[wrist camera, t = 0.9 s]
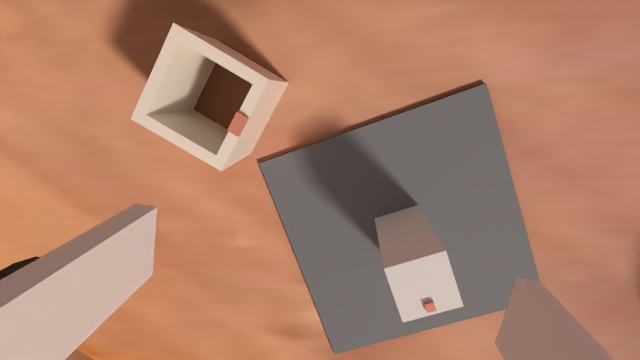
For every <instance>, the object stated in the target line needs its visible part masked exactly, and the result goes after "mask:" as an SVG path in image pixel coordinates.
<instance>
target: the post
mask: <svg viewBox="0 0 640 360" xmlns="http://www.w3.org/2000/svg"><path fill="white" fill-rule="evenodd" d="M259 165H260V168H261V170H262V173H263V175H264V178H265V180H266V183H267V185H268V188H269V190H270V193H271V195H272V198H273V201H274V203H275V206H276V208H277V211H278V213H279V216H280V218H281V221H282V223H283V226H284V228H285V231H286V233H287V236H288V238H289V241H290V243H291V246H292V248H293V251H294V253H295V256H296V258H297V261H298V263H299V266H300V268H301V271H302V273H303V276H304V278H305V281H306V284H307V286H308V289H309V291H310V294H311V296H312V299H313V301H314V304H315V306H316V309H317V311H318V314H319V316H320V319H321V321H322V324H323V326H324V329H325V331H326V334H327V336H328V339H329V341H330V344H331V346H332V349H333V351H334V354H337V353H341V352H345V351H348V350H352V349H356V348H360V347H364V346H367V345H371V344H375V343H379V342H383V341H386V340H390V339H394V338H398V337H401V336H405V335H409V334H413V333H417V332H420V331H424V330H428V329H432V328H436V327H439V326H443V325H447V324H451V323H455V322H458V321H462V320H466V319H470V318H473V317H477V316H481V315H485V314H489V313H492V312H496V311H500V310H504V309H507V306H508V303H509V300H510V297H511V294H512V292H513V289H514V286H515V283H516V280H517V277H521V278H526V279H531V280H537V281H539V277H538V273H537V270H536V266H535V262H534V258H533V255H532V251H531V247H530V244H529V240H528V236H527V232H526V229H525V225H524V221H523V218H522V214H521V210H520V206H519V203H518V199H517V195H516V192H515V188H514V184H513V180H512V177H511V173H510V169H509V166H508V162H507V158H506V154H505V151H504V147H503V143H502V140H501V136H500V132H499V128H498V125H497V121H496V117H495V114H494V110H493V106H492V102H491V99H490V95H489V91H488V88H487V84H486V83H484V84H481V85H479V86H476V87H473V88H470V89H467V90H465V91H462V92H459V93H456V94H453V95H450V96H448V97H445V98H442V99H439V100H436V101H433V102H431V103H428V104H425V105H422V106H419V107H416V108H414V109H411V110H408V111H405V112H402V113H399V114H397V115H394V116H391V117H388V118H385V119H382V120H380V121H377V122H374V123H371V124H368V125H365V126H363V127H360V128H357V129H354V130H351V131H349V132H346V133H343V134H340V135H337V136H334V137H332V138H329V139H326V140H323V141H320V142H317V143H315V144H312V145H309V146H306V147H303V148H300V149H298V150H295V151H292V152H289V153H286V154H283V155H281V156H278V157H275V158H272V159H269V160H266V161H264V162H261V163H259Z"/></svg>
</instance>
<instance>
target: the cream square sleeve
mask: <svg viewBox="0 0 640 360" xmlns="http://www.w3.org/2000/svg"><path fill="white" fill-rule="evenodd" d="M216 63H217V64H219V65H221V66H222V67H224V68H226V69H228V70H229V71H231V72H233V73H234V74H236V75H238V76H239V77H241V78H243V79H245V80H246V81H248V82H250V83H251V84H253V85H252V87H251V89H250V91H249V92H248V94H247V96H246V98H245V100H244V102H243V104H242V106H241V108H240V110H239V112H236V114H235V116H234V118H233V120H232V122H231V124H230V126H229V128H228V129H226V128H224V127H223V126H221V125H219V124H217V123H216V122H214V121H212V120H211V119H209V118H207V117H205V116H204V115H202V114H200V113H199V112H197V111H195V110H193V109H194V107H195V105H196V103H197V101H198V99H199V97H200V95H201V93H202V91H203V89H204V87H205V85H206V82H207V80H208V78H209V76H210V74H211V72H212V70H213V68H214V66H215V64H216ZM288 83H289V82H287V81H285V80H284V79H282V78H280V77H279V76H277V75H275V74H274V73H272V72H270V71H268V70H267V69H265V68H263V67H262V66H260V65H258V64H257V63H255V62H253V61H252V60H250V59H248V58H247V57H245V56H243V55H242V54H240V53H238V52H236V51H235V50H233V49H231V48H230V47H228V46H226V45H225V44H223V43H221V42H220V41H218V40H216V39H214V38H211V37H208V36H206V35H203V34H201V33H198V32H196V31H193V30H191V29H188V28H185V27H183V26H180V25H178V24H175V23H173V24H172V27H171V29H170V31H169V33H168V36H167V38H166V40H165V42H164V45H163V47H162V49H161V52H160V54H159V56H158V58H157V61H156V63H155V65H154V67H153V70H152V72H151V74H150V77H149V79H148V81H147V83H146V86H145V88H144V90H143V92H142V95H141V97H140V99H139V101H138V104H137V106H136V108H135V111H134V113H133V115H132V117H131V119H132V120H133V121H135V122H137V123H138V124H140V125H142V126H144V127H145V128H147V129H149V130H151V131H152V132H154V133H156V134H158V135H159V136H161V137H163V138H165V139H166V140H168V141H170V142H171V143H173V144H175V145H177V146H178V147H180V148H182V149H184V150H185V151H187V152H189V153H191V154H192V155H194V156H196V157H197V158H199V159H201V160H203V161H204V162H206V163H208V164H210V165H211V166H213V167H215V168H217V169H218V170H220V171H223V170H224V169H226V168H228V167H229V166H231V165H232V164H234V163H236V162H237V161H239V160H241V159H242V158H244V157H246V156H247V155H249V154H250V153H251V152H252V150H253V149H254V147H255V145H256V143H257V141H258V139H259V137H260V136H261V134H262V132H263V130H264V128H265V126H266V124H267V122H268V121H269V119H270V117H271V115H272V113H273V111H274V109H275V108H276V106H277V104H278V102H279V100H280V98H281V96H282V95H283V93H284V91H285V89H286V87H287V85H288Z"/></svg>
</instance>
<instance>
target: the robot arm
mask: <svg viewBox="0 0 640 360" xmlns="http://www.w3.org/2000/svg"><path fill="white" fill-rule="evenodd" d="M156 214H157V207H153V206H148V205H143V204H138V203H136V204H134V205H133V206H131V207H129V208H127V209H125V210H124V211H122V212H120V213H118V214H117V215H115V216H113V217H111V218H110V219H108V220H106V221H104V222H102V223H101V224H99V225H97V226H95V227H94V228H92V229H90V230H88V231H86V232H85V233H83V234H81V235H79V236H78V237H76V238H74V239H72V240H71V241H69V242H67V243H65V244H63V245H62V246H60V247H58V248H56V249H55V250H53V251H51V252H49V253H47V254H46V255H44V256H42V257H33V258H30V259H27V260H23V261H20V262H17V263H14V264H12V265H10V266H8V267H6V268H4V269H3V270H1V271H0V360H65V359H66V358H67V357H68V356H69V355H70V354H71V353H72V352H73V351H74V350H75V349H76V348H77V347H78V346H79V345H80V344H81V343H82V342H83V341H85V340H86V339H87V338H88V337H89V336H90V335H91V334H92V333H93V332H94V331H95V330H96V329H97V328H98V327H99V326H100V325H101V324H102V323H103V322H104V321H105V320H106V319H107V318H108V317H109V316H110V315H111V314H112V313H113V312H114V311H115V310H116V309H118V308H119V307H120V306H121V305H122V304H123V303H124V302H125V301H126V300H127V299H128V298H129V297H130V296H131V295H132V294H133V293H134V292H135V291H136V290H137V289H138V288H139V287H140V286H141V285H142V284H143V283H144V282H145V281H146V280H147V279H148V278H149V277H151V276H152V274H153V259H154V244H155V229H156ZM495 344H496V345H497V347H498V349H499V351H500V353H501V354H502V356H503V358H504V360H614V359H613V358H612V357H611V356H610V355H609V354H608V353H607V352H606V351H605V349H604V348H603V347H602V346H601V345H600V344H599V343H598V342H597V341H596V340H595V339H594V338H593V337H592V336H591V335H590V334H589V333H588V332H587V331H586V330H585V328H584V327H583V326H582V325H581V324H580V323H579V322H578V321H577V320H576V319H575V318H574V317H573V316H572V315H571V314H570V313H569V312H568V311H567V310H566V309H565V308H564V306H563V305H562V304H561V303H560V302H559V301H558V300H557V299H556V298H555V297H554V296H553V295H552V294H551V293H550V292H549V291H548V290H547V289H546V288H545V287H544V285H543V284H542V283H541V282H540V281H537V280H531V279H526V278H521V277H517V280H516V283H515V286H514V289H513V292H512V294H511V297H510V300H509V303H508V306H507V309H506V312H505V315H504V318H503V321H502V324H501V327H500V330H499V333H498V335H497V338H496V341H495Z"/></svg>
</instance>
